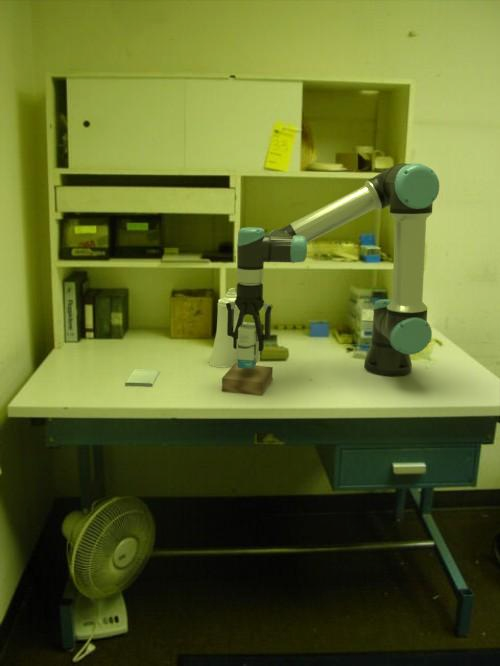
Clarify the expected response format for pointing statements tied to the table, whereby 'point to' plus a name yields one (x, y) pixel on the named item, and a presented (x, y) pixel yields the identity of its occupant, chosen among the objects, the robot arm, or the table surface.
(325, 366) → the table surface
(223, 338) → the spray can
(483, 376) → the table surface
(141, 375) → the hard drive
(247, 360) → the ink box
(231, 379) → the wooden block
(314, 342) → the table surface
